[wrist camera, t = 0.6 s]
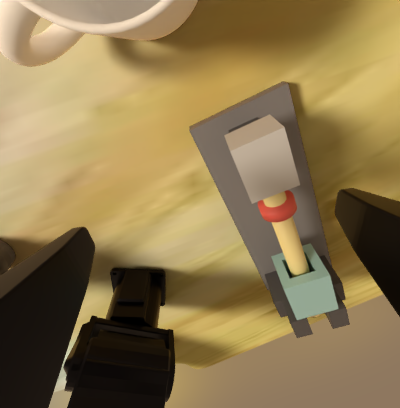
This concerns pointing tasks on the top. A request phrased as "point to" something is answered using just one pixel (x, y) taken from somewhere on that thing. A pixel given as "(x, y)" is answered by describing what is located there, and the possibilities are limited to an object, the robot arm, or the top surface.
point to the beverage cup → (5, 257)
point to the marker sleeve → (307, 285)
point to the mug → (82, 24)
